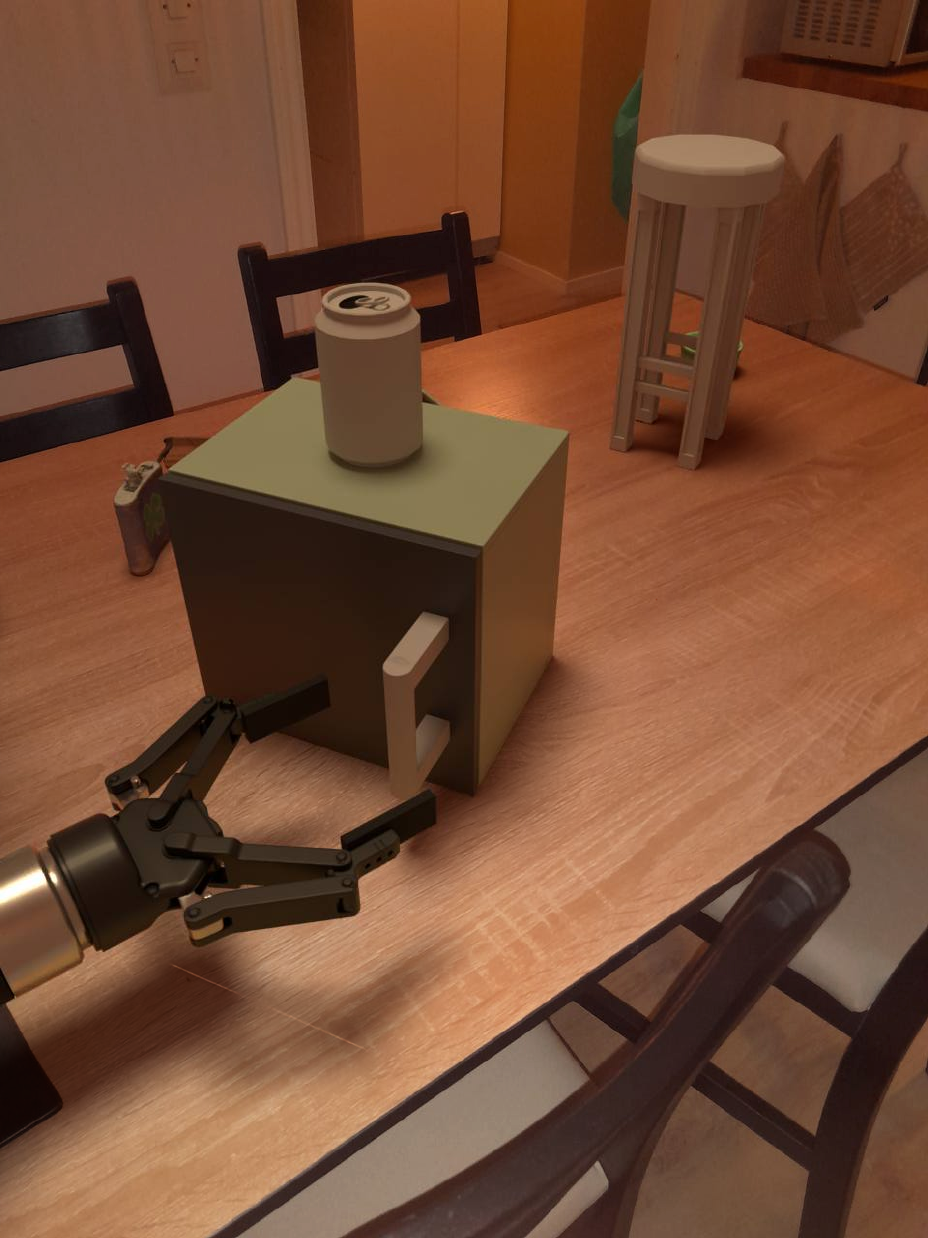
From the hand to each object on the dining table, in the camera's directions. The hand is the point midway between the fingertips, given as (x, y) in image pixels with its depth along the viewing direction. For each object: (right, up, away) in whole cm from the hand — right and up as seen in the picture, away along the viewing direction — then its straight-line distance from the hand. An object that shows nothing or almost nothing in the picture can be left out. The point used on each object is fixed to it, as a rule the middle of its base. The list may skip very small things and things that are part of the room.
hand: (376, 744), depth 66 cm
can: (-1, +22, +9) cm, 23 cm away
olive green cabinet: (-1, +3, +23) cm, 23 cm away
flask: (-28, +16, +39) cm, 51 cm away
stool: (+32, +32, +60) cm, 75 cm away
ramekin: (+42, +45, +77) cm, 99 cm away
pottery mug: (-25, +24, +49) cm, 60 cm away
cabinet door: (-6, -4, +13) cm, 15 cm away
